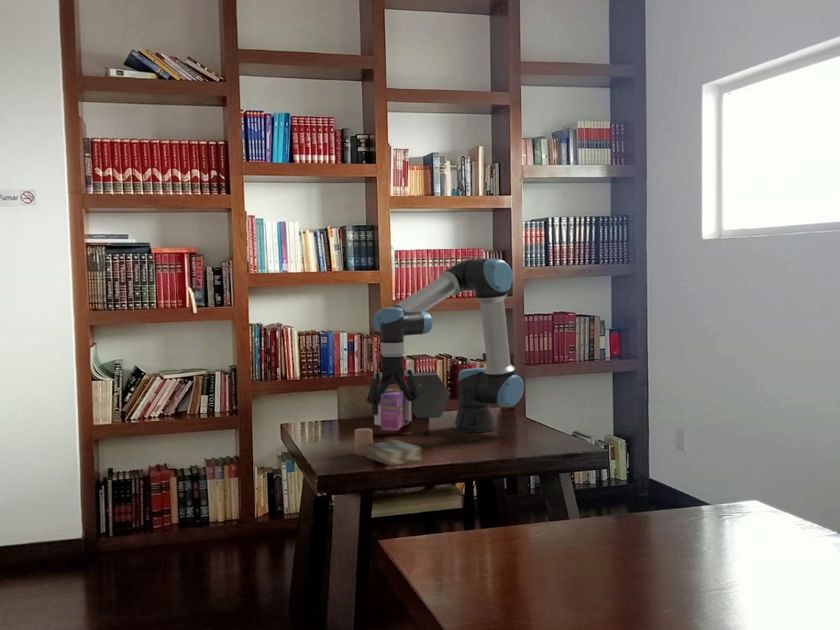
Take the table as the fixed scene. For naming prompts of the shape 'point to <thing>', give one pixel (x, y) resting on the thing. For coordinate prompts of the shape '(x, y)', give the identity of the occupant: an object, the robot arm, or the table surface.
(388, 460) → the mirror
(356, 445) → the tan capsule cylinder
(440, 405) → the dark grey hexagonal block
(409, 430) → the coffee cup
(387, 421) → the box
